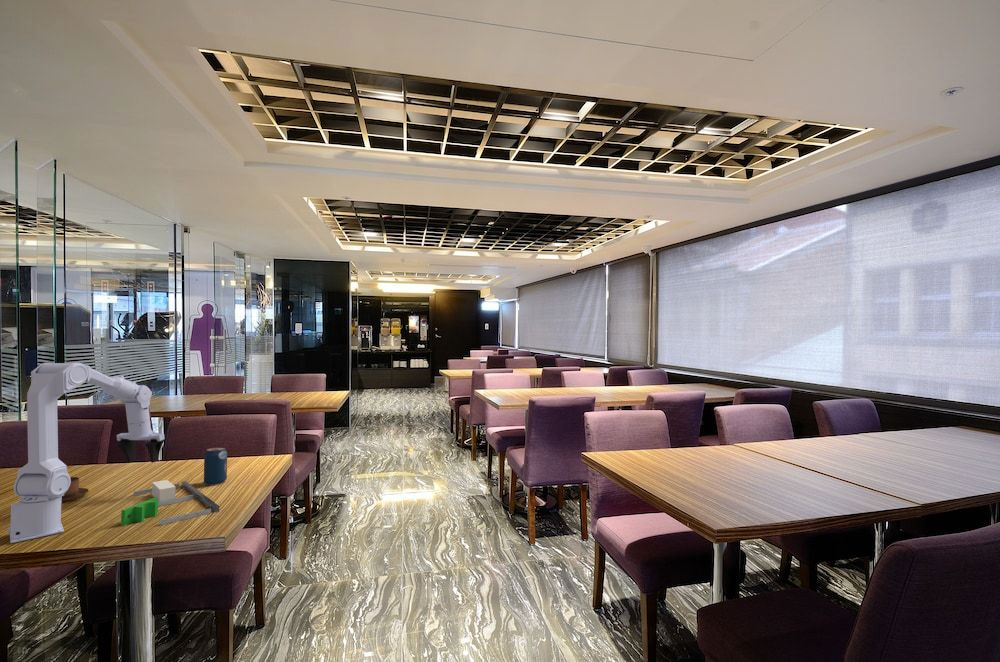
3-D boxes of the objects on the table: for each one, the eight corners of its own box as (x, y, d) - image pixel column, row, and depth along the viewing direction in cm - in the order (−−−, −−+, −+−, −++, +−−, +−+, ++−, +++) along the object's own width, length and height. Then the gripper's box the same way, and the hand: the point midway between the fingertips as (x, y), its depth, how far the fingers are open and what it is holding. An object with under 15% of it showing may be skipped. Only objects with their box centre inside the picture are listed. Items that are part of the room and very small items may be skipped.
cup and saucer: (35, 500, 144) (36, 480, 144) (87, 491, 152) (87, 472, 152) (35, 509, 135) (36, 488, 135) (89, 499, 144) (90, 480, 144)
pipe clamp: (132, 526, 122) (132, 510, 122) (120, 526, 123) (121, 510, 123) (165, 512, 133) (165, 497, 133) (154, 511, 133) (154, 497, 133)
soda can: (230, 482, 162) (231, 448, 162) (209, 487, 156) (210, 451, 156) (220, 479, 166) (221, 445, 166) (199, 483, 160) (200, 449, 160)
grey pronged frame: (160, 525, 123) (160, 519, 123) (134, 495, 148) (134, 490, 148) (219, 511, 133) (219, 506, 133) (185, 485, 158) (185, 481, 158)
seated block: (159, 502, 140) (160, 489, 141) (151, 494, 148) (152, 482, 148) (175, 499, 143) (175, 486, 144) (166, 491, 151) (167, 479, 151)
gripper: (169, 417, 151) (174, 456, 153) (127, 417, 152) (132, 455, 154) (152, 424, 144) (157, 465, 146) (109, 424, 145) (114, 464, 147)
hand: (143, 461), depth 150 cm, fingers open, 7 cm apart
